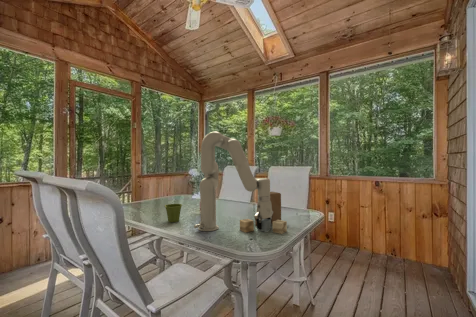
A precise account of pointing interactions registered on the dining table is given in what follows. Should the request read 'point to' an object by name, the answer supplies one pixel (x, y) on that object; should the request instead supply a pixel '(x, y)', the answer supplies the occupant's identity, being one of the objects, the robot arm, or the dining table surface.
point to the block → (275, 205)
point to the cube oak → (246, 225)
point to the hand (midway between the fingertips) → (264, 227)
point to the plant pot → (173, 212)
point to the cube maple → (279, 226)
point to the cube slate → (265, 225)
